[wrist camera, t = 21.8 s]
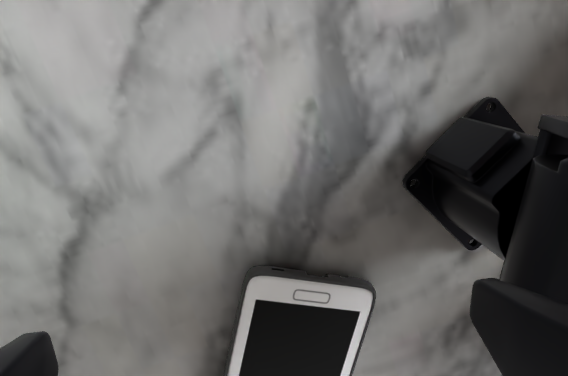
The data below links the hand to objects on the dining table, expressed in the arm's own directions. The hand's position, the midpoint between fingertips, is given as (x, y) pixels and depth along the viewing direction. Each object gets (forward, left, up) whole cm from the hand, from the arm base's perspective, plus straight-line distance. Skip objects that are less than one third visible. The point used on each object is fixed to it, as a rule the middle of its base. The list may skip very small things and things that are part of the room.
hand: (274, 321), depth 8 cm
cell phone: (-11, +9, -13) cm, 19 cm away
